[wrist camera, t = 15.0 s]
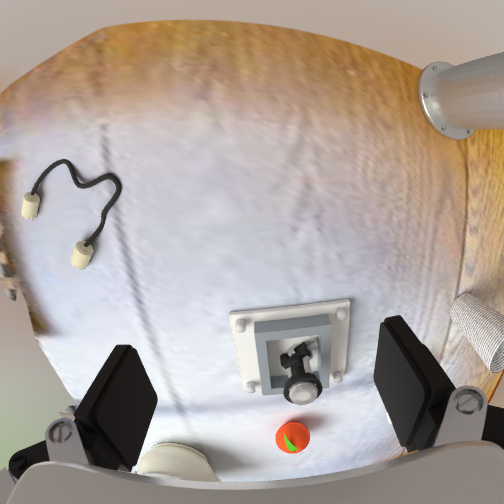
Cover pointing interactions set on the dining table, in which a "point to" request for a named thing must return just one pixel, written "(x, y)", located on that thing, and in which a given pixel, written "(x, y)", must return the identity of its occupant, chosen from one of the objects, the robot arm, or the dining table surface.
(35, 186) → the cable
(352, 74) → the dining table surface
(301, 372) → the push button
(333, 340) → the frame
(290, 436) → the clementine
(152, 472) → the kettle
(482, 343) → the cup
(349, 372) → the dining table surface
